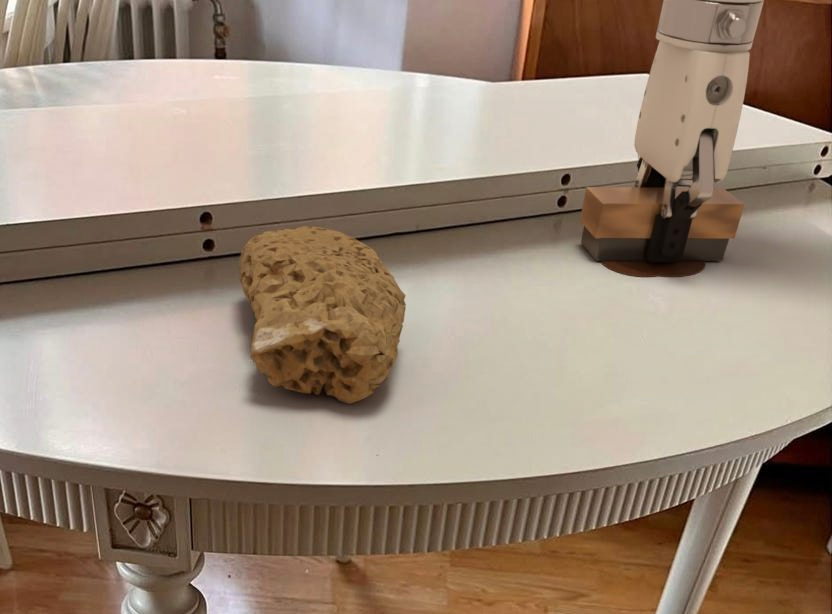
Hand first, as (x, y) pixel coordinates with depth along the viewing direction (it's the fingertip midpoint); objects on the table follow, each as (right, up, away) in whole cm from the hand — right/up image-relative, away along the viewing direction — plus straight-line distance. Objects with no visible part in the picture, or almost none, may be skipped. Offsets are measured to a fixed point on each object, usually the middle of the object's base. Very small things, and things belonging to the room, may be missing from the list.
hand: (652, 248), depth 91 cm
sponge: (-30, -13, -18) cm, 37 cm away
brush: (0, 0, 0) cm, 0 cm away
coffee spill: (0, -1, 0) cm, 1 cm away
